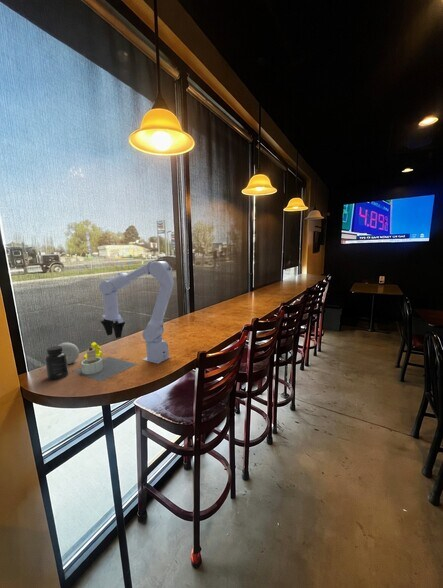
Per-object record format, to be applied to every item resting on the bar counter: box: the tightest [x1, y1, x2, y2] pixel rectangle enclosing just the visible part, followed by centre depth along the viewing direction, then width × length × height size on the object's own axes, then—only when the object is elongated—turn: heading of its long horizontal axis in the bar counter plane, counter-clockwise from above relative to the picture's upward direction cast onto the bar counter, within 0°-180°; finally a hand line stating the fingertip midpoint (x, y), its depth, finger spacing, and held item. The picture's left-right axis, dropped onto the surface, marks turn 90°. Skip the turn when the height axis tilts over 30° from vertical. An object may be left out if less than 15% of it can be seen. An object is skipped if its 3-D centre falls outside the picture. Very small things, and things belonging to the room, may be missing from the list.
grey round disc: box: [57, 341, 80, 365], centre depth 109 cm, size 10×4×10 cm, turn 106°
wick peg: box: [86, 347, 96, 364], centre depth 101 cm, size 3×3×9 cm
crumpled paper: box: [83, 341, 103, 360], centre depth 115 cm, size 6×8×8 cm
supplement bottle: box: [44, 345, 69, 381], centre depth 97 cm, size 7×7×12 cm
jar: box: [80, 356, 103, 375], centre depth 101 cm, size 8×8×4 cm
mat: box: [71, 356, 138, 382], centre depth 104 cm, size 19×17×1 cm
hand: (114, 336), depth 114 cm, fingers open, 7 cm apart
